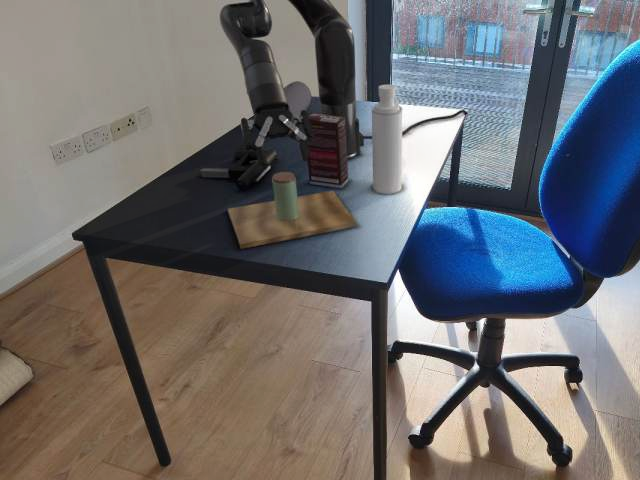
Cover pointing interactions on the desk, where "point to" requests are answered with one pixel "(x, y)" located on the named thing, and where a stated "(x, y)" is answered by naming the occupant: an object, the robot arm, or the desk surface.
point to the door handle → (243, 168)
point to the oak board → (314, 218)
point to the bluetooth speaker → (297, 97)
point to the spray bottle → (387, 142)
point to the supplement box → (328, 151)
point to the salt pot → (285, 196)
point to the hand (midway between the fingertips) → (286, 163)
